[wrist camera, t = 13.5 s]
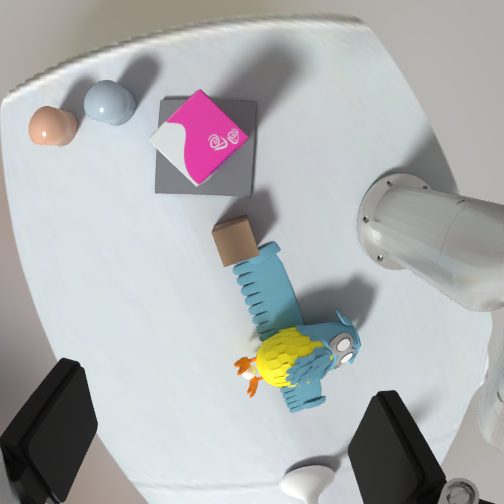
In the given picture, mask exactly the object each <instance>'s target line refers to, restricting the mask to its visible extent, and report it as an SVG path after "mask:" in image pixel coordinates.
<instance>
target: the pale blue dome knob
mask: <svg viewBox="0 0 504 504" xmlns="http://www.w3.org/2000/svg"><path fill="white" fill-rule="evenodd" d="M84 109H85V112H86V114H87V115H88V117H90V118H91V119H93V120H96V121H100V122H103V123H106V124H110V125H114V126H118V125H122V124H124V123H126V122H127V121H128V120H130V118H131V117H132V116H133V114H134V112H135V109H136V100H135V98H134V96H133V95H132V94H131V93H130V92H129V91H127V90H126V89H124V88H123V87H121V86H120V85H118V84H117V83H115V82H113V81H110V80H103V81H100V82H98V83H96V84H95V85H93V86H92V87H91V88H90V89H89V91H88V92H87V94H86V97H85V100H84Z"/></svg>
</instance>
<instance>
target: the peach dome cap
mask: <svg viewBox="0 0 504 504" xmlns="http://www.w3.org/2000/svg"><path fill="white" fill-rule="evenodd" d="M77 128H78V122H77V119H76V117H75V115H74V114H73V113H71V112H68V111H65V110H61V109H57V108H53V107H50V106H44V107H41V108H40V109H38V110H37V111H36V112H35V113H34V115H33V116H32V118H31V120H30V123H29V136H30V138H31V140H32V141H33V142H34V143H35V144H38V145H53V146H64V145H67V144H68V143H70V142H71V141H72V140H73V138H74V137H75V135H76V132H77Z"/></svg>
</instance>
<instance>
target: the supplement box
mask: <svg viewBox="0 0 504 504" xmlns="http://www.w3.org/2000/svg"><path fill="white" fill-rule="evenodd" d="M247 139H248V136H247V135H246V134H245V133H244V132H243V131H242V130H241V129H240V128H239V127H238V126H237V125H236V124H235V123H234V122H233V121H232V120H231V119H230V118H229V117H228V116H227V115H226V114H225V113H224V112H223V111H222V109H221V108H220V107H218V106H217V105H216V104H215V103H214V102H213V101H212V100H211V99H210V98H209V97H208V96H207V95H206V94H205V93H204V92H203V91H202V90H200V89H199V90H198V91H196V92H195V93H194V94H193V95H192V96H191V97H190V98H188V99H187V100H186V101H185V102H184V103H183V104H182V105H181V106H180V107H179V108H178V109H177V110H176V111H175V112H174V113H173V114H172V115H171V116H170V117H169V118H168V119H167V120H166V121H165V122H164V123H163V124H162V125H161V126H160V127H159V128H158V129H157V130H156V131H155V132H154V133H153V134H152V135H151V136H150V137H149V139H148V140H149V142H150V143H152V145H153V146H154V147H155V148H157V149H158V150H159V151H160V152H161V153H162V154H163V155H164V156H165V157H166V158H167V159H168V160H169V161H170V162H171V163H172V164H173V165H174V166H175V167H176V168H177V169H179V170H180V171H181V172H182V173H183V174H184V175H185V176H186V177H187V178H188V179H189V180H190V181H191V182H192V183H193V184H194V185H195V186H196V187H197V186H199V185H201V184H202V183H204V182H206V181H207V180H209V178H210V177H211V176H212V175H214V174H215V173H216V172H217V171H218V170H219V169H220V168H221V167H222V166H223V165H224V164H225V163H226V162H227V161H228V160H229V159H230V158H231V157H232V156H233V155H234V154H235V153H236V152H237V151H238V150H239V149H241V148H242V147H243V145H244V144H245V142H246V141H247Z"/></svg>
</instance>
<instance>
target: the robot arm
mask: <svg viewBox="0 0 504 504" xmlns="http://www.w3.org/2000/svg"><path fill="white" fill-rule="evenodd" d="M387 181H388V184H387ZM364 217H365V220H363V218H364ZM357 223H358V235H359V240H360V242H361V245H362V247H363V249H364V251H365V252H366V254H367V255H368V256H369V257H370V258H371V259H372V260H373V261H374V262H375V263H377V264H378V265H380V266H382V267H384V268H386V269H390V270H403V269H408V270H409V271H411V272H412V273H414V274H415V275H417V276H418V277H420V278H421V279H423V280H424V281H426V282H427V283H428V284H430V285H431V286H433V287H434V288H436V289H437V290H439V291H440V292H441V293H443V294H444V295H446V296H447V297H449V298H450V299H451V300H453V301H455V302H456V303H457V304H459V305H460V306H462V307H464V308H465V309H468V310H470V311H474V312H488V311H493V310H496V309H499V308H501V307H503V306H504V205H502V204H497V203H493V202H488V201H483V200H479V199H474V198H470V197H465V196H460V195H455V194H450V193H445V192H439V191H434V190H432V189H431V188H430V186H429V185H428V184H427V183H426V182H425V181H423V180H422V179H420V178H418V177H417V176H414V175H411V174H405V173H397V174H391V175H388V176H385V177H384V178H382V179H380V180H378V181H377V182H376V183H375V184H374V185H373V186H372V187H371V188H370V189H369V191H368V192H367V193H366V195H365V197H364V199H363V201H362V203H361V206H360V209H359V214H358V220H357ZM378 256H379V257H378ZM377 257H378V258H377ZM478 425H479V428H480V431H481V433H482V435H483V437H484V438H485V440H486V441H487V442H488V443H489V444H490V445H491V446H492V447H493V448H495V449H496V450H498V451H499V452H501V453H503V454H504V332H503V338H502V341H501V344H500V347H499V350H498V353H497V357H496V359H495V362H494V365H493V367H492V370H491V373H490V375H489V378H488V380H487V383H486V385H485V388H484V391H483V394H482V396H481V399H480V403H479V408H478ZM97 427H98V422H97V418H96V415H95V411H94V407H93V404H92V400H91V396H90V392H89V387H88V383H87V379H86V374H85V370H84V368H83V367H81V365H80V363H79V362H77V361H74V360H70V359H67V358H61V359H60V360H59V362H58V363H57V364H56V365H55V366H54V368H53V369H52V370H51V371H50V373H49V374H48V375H47V376H46V378H45V379H44V380H43V381H42V383H41V384H40V385H39V386H38V388H37V389H36V390H35V391H34V393H33V394H32V395H31V397H30V398H29V399H28V401H27V402H26V403H25V404H24V406H23V407H22V408H21V410H20V411H19V412H18V413H17V415H16V416H15V417H14V419H13V420H12V422H11V423H10V424H9V426H8V427H7V428H6V430H5V431H4V433H3V434H2V436H1V437H0V504H45V503H48V504H60V502H64V501H65V500H66V498H67V496H68V493H69V491H70V489H71V486H72V484H73V482H74V479H75V477H76V475H77V472H78V470H79V468H80V466H81V464H82V462H83V459H84V457H85V455H86V453H87V451H88V448H89V446H90V444H91V442H92V440H93V438H94V436H95V434H96V431H97ZM348 455H349V458H350V461H351V465H352V468H353V471H354V474H355V477H356V480H357V483H358V487H359V490H360V493H361V496H362V499H363V503H364V504H494V503H491V502H488V501H484V500H481V499H479V492H478V489H477V487H476V486H475V484H473V483H472V482H471V481H469V480H467V479H463V478H455V479H452V480H450V481H448V482H447V481H446V479H445V478H446V477H445V474H444V472H443V471H442V469H441V467H440V465H439V463H438V462H437V460H436V458H435V456H434V454H433V453H432V451H431V449H430V447H429V445H428V444H427V442H426V440H425V438H424V437H423V435H422V433H421V432H420V430H419V428H418V426H417V425H416V423H415V421H414V420H413V418H412V416H411V414H410V413H409V411H408V409H407V408H406V406H405V404H404V403H403V401H402V399H401V398H400V396H399V394H398V393H397V392H396V391H395V390H391V391H379V392H378V393H377V394H376V396H373V397H372V399H371V401H370V403H369V405H368V407H367V410H366V412H365V414H364V416H363V418H362V420H361V422H360V424H359V427H358V429H357V431H356V433H355V435H354V437H353V439H352V440H351V442H350V444H349V447H348Z"/></svg>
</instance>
